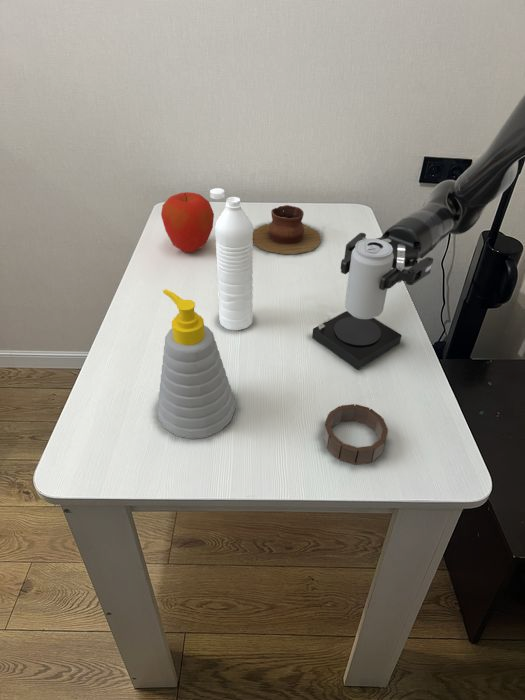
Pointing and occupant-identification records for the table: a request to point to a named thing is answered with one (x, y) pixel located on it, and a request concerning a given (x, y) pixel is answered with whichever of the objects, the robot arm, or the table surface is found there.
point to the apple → (187, 220)
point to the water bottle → (234, 263)
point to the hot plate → (356, 338)
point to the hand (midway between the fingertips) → (362, 276)
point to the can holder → (347, 451)
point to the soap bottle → (193, 378)
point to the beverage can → (368, 278)
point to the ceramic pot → (286, 232)
